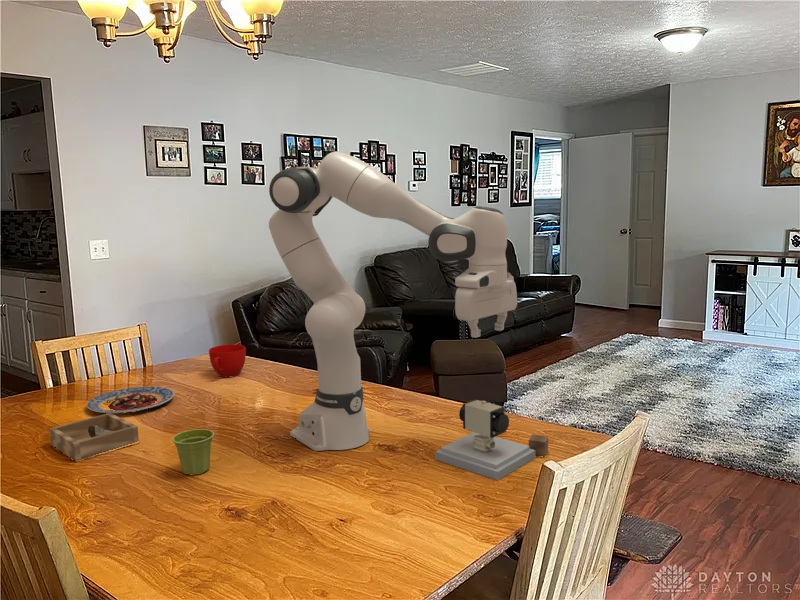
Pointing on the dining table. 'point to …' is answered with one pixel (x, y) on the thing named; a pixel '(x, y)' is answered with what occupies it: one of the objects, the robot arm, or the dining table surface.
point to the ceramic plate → (130, 399)
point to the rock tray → (81, 445)
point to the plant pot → (194, 450)
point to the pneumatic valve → (484, 422)
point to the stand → (486, 456)
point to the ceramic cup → (227, 359)
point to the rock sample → (96, 431)
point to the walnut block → (539, 444)
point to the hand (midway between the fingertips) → (487, 333)
